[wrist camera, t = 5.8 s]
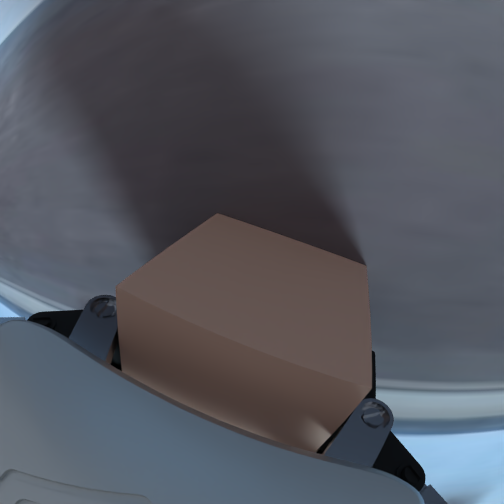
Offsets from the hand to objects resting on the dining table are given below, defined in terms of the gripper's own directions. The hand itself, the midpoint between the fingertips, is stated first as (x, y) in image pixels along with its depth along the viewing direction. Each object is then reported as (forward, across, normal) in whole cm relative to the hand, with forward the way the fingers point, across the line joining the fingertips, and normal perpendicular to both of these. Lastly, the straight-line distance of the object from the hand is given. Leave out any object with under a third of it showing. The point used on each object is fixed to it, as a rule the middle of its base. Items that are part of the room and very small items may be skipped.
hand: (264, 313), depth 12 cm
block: (+1, 0, 0) cm, 1 cm away
